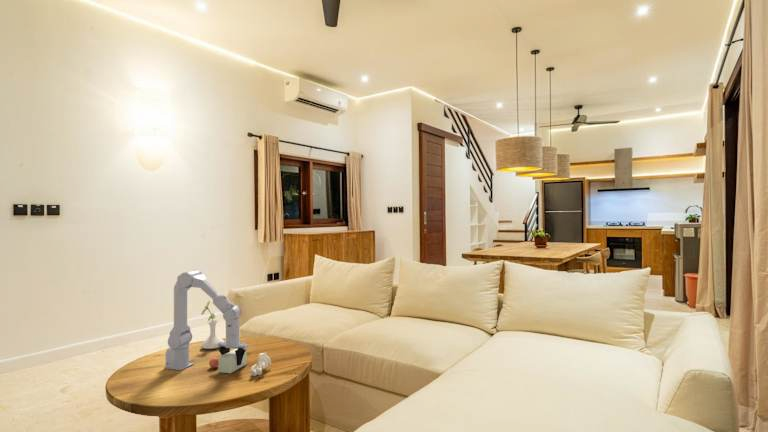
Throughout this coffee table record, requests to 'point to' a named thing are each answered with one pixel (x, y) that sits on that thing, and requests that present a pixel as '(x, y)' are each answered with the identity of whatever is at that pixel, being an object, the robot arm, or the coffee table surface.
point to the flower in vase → (212, 339)
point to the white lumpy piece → (260, 364)
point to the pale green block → (230, 362)
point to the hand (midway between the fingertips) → (232, 364)
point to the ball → (214, 362)
